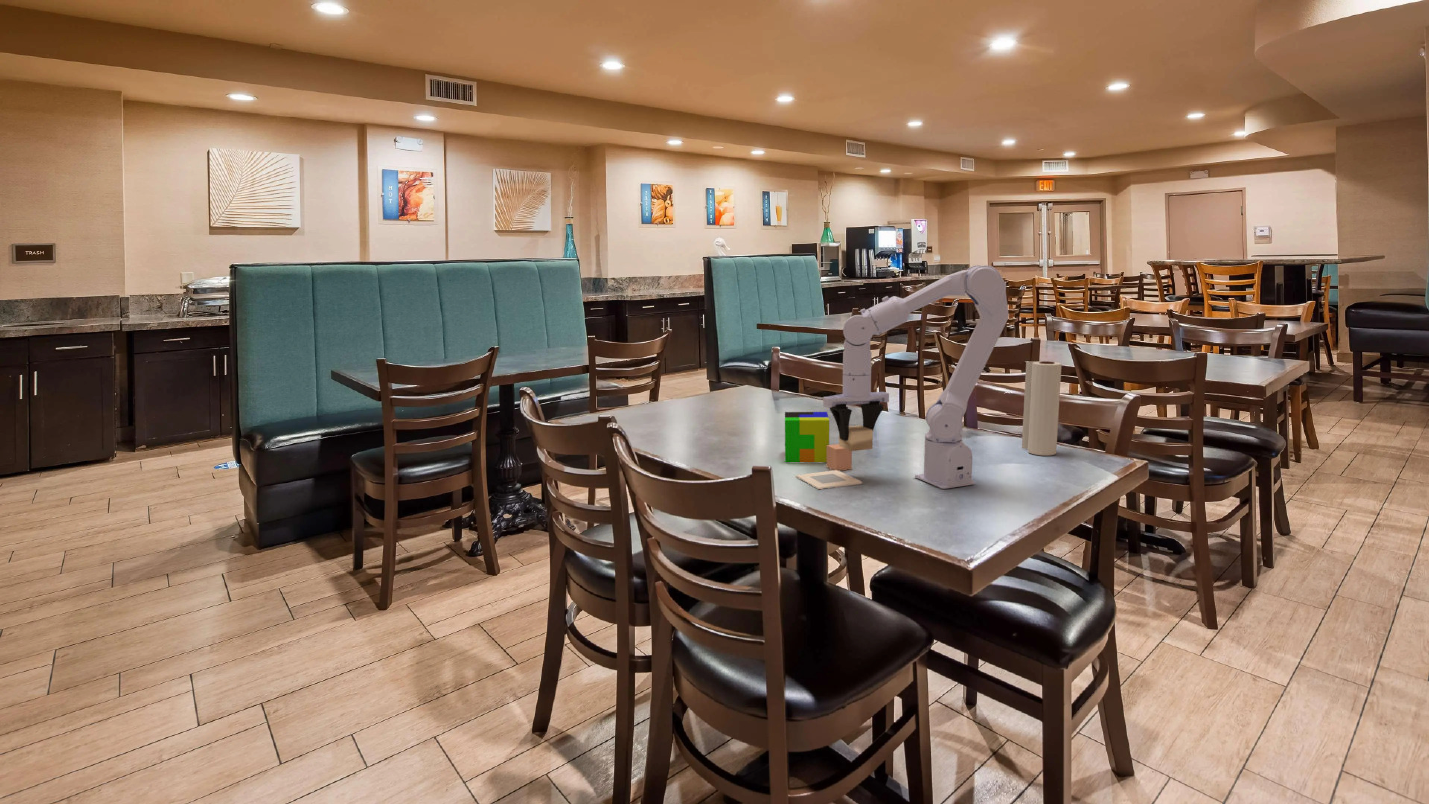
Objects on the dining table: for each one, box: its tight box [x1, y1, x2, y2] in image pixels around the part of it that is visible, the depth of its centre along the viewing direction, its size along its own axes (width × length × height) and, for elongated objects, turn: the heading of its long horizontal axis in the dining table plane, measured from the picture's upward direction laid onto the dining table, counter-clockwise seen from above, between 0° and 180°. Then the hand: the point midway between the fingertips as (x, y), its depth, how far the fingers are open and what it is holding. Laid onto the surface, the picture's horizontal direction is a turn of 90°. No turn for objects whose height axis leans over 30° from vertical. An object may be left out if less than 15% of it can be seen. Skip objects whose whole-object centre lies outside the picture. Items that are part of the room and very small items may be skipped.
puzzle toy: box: [784, 411, 830, 463], centre depth 171 cm, size 10×10×10 cm
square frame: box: [795, 470, 863, 490], centre depth 153 cm, size 10×10×1 cm
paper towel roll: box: [1021, 360, 1063, 456], centre depth 169 cm, size 7×6×21 cm
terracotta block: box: [826, 443, 853, 471], centre depth 162 cm, size 4×4×5 cm
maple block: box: [838, 425, 874, 452], centre depth 153 cm, size 5×5×4 cm
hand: (855, 438), depth 153 cm, fingers closed on maple block, 5 cm apart
